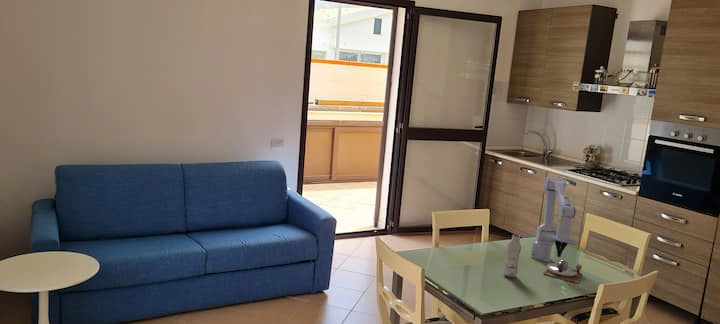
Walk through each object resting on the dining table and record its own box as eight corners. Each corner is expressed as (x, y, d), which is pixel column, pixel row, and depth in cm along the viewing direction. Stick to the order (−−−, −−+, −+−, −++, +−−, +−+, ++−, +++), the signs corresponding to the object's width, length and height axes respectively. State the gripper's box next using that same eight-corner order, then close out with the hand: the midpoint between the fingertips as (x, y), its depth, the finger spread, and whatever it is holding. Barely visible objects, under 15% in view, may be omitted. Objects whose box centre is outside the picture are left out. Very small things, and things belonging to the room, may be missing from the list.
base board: (543, 274, 271) (545, 264, 270) (549, 265, 285) (550, 256, 284) (577, 283, 263) (579, 273, 263) (582, 274, 277) (583, 264, 276)
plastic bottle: (517, 275, 265) (524, 235, 262) (515, 280, 259) (522, 239, 255) (504, 272, 268) (510, 232, 264) (501, 276, 262) (508, 236, 258)
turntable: (544, 271, 272) (546, 260, 271) (549, 264, 284) (551, 253, 283) (574, 279, 266) (576, 268, 265) (578, 271, 278) (580, 260, 277)
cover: (555, 268, 274) (557, 260, 273) (557, 265, 278) (558, 257, 278) (566, 270, 272) (567, 263, 271) (567, 268, 276) (569, 260, 275)
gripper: (547, 228, 268) (542, 254, 271) (578, 235, 262) (573, 262, 264) (549, 225, 274) (544, 251, 277) (580, 232, 268) (575, 258, 271)
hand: (558, 256), depth 271 cm, fingers closed
